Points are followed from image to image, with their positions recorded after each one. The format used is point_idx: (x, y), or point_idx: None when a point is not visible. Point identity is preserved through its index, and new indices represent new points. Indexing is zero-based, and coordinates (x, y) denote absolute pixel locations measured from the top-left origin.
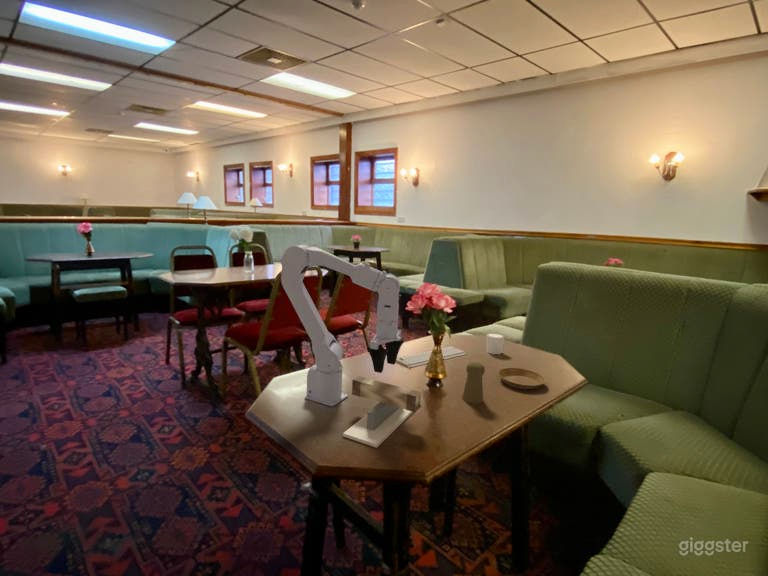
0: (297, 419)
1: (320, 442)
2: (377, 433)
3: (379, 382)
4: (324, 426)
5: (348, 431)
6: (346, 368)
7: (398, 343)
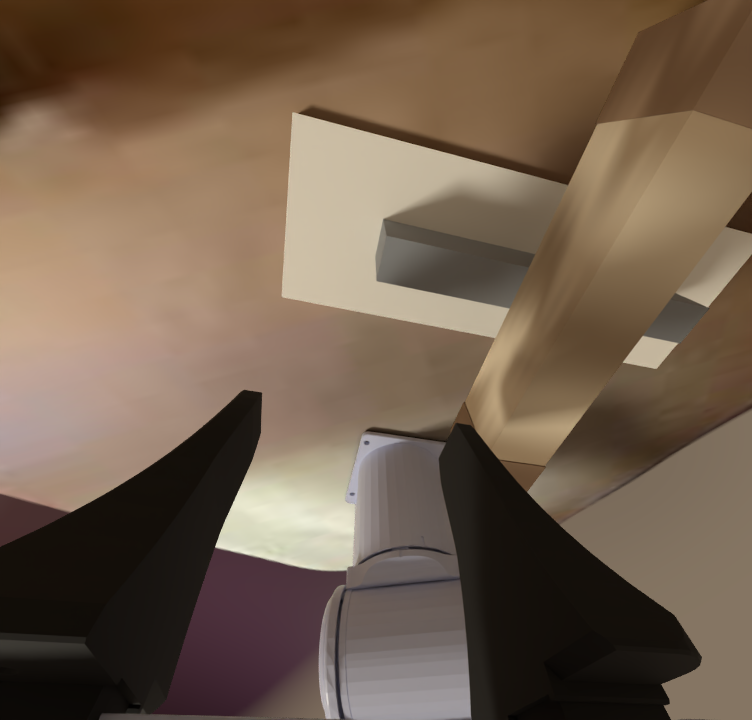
0: (544, 481)
1: (677, 402)
2: None
3: (539, 390)
4: (580, 422)
5: (646, 357)
6: None
7: (135, 597)
